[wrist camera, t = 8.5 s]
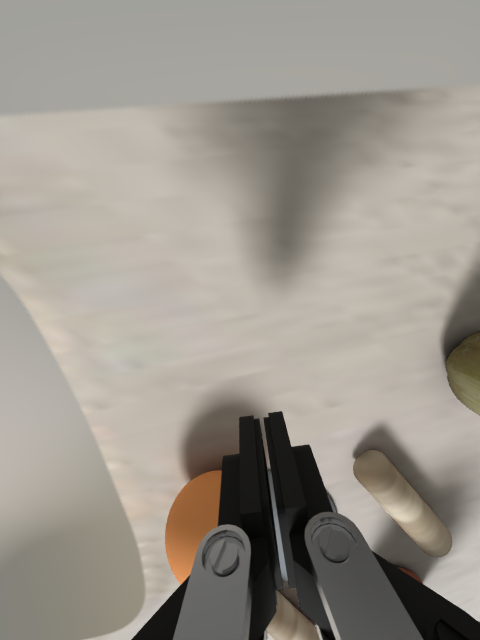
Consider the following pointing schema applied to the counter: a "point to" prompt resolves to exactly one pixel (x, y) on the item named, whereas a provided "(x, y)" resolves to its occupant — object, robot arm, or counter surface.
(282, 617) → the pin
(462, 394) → the fennel bulb
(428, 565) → the counter surface
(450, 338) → the counter surface
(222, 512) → the robot arm
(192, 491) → the ball
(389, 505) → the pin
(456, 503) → the counter surface
